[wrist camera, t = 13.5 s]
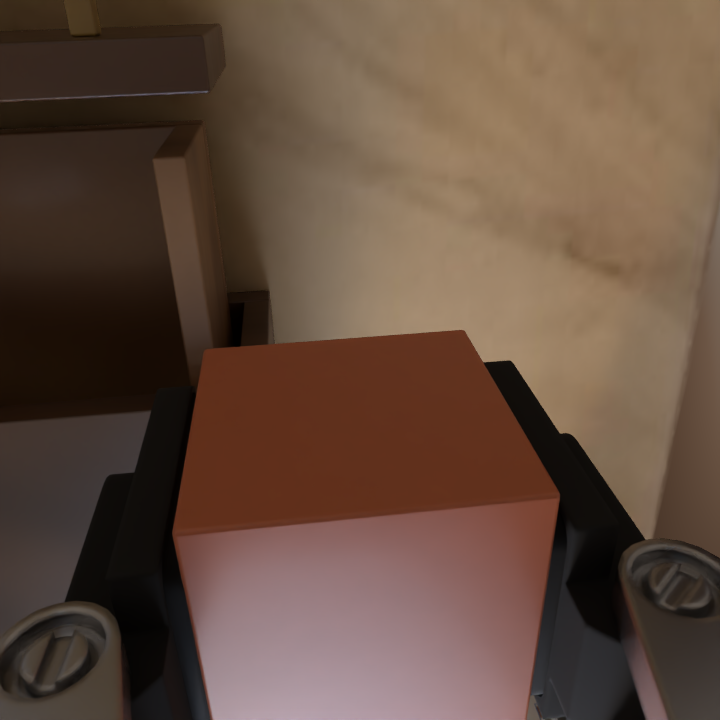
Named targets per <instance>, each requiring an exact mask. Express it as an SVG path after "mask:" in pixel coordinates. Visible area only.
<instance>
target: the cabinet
mask: <svg viewBox="0 0 720 720" xmlns="http://www.w3.org/2000/svg"><path fill="white" fill-rule="evenodd" d="M227 295H228V303H229V310H230V318H231V326H232V333H233V341H234V347H241V346H255V345H268V344H275V340H274V330H273V320H272V310H271V300H270V292H269V291H268V290H267V291H253V292H238V293H227ZM196 393H197V391H196ZM155 395H156V394H148V395H136V396H123V397H111V398H98V399H86V400H73V401H61V402H48V403H36V404H23V405H11V406H0V636H1V635H2V634H3V633H5V632H6V631H7V630H8V629H9V628H10V627H12V626H13V625H14V624H15V623H16V622H17V621H19V620H21V619H23V618H24V617H26V616H28V615H30V614H31V613H33V612H35V611H36V610H39V609H42V608H45V607H48V606H51V605H53V604H56V603H63V602H65V599H66V596H67V593H68V590H69V587H70V583H71V580H72V577H73V574H74V571H75V568H76V565H77V562H78V559H79V556H80V553H81V550H82V547H83V544H84V541H85V538H86V535H87V532H88V529H89V526H90V523H91V520H92V517H93V514H94V511H95V508H96V505H97V502H98V499H99V496H100V493H101V490H102V487H103V484H104V482H105V480H106V478H107V477H108V476H109V475H111V474H122V473H133V472H135V468H136V464H137V461H138V457H139V454H140V450H141V446H142V443H143V439H144V435H145V432H146V428H147V424H148V421H149V417H150V413H151V410H152V406H153V403H154V399H155Z"/></svg>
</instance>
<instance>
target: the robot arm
mask: <svg viewBox="0 0 720 720" xmlns="http://www.w3.org/2000/svg"><path fill="white" fill-rule="evenodd" d="M484 365H485V367H486V368H487V370H488V372H489V373H490V375H491V377H492V379H493V380H494V382H495V384H496V385H497V387H498V389H499V390H500V392H501V394H502V396H503V397H504V399H505V401H506V402H507V404H508V406H509V408H510V409H511V411H512V413H513V414H514V416H515V418H516V419H517V421H518V423H519V425H520V426H521V428H522V430H523V431H524V433H525V435H526V437H527V438H528V440H529V442H530V443H531V445H532V447H533V448H534V450H535V452H536V454H537V455H538V457H539V459H540V460H541V462H542V464H543V466H544V467H545V469H546V471H547V472H548V474H549V476H550V477H551V479H552V481H553V483H554V484H555V486H556V488H557V489H558V491H559V493H560V501H559V508H558V514H557V521H556V528H555V534H554V541H553V548H552V554H551V561H550V568H549V574H548V581H547V588H546V594H545V601H544V608H543V615H542V621H541V628H540V635H539V641H538V648H537V655H536V661H535V668H534V675H533V681H532V688H531V695H534V697H535V700H536V702H537V705H538V708H539V710H540V713H541V716H542V718H543V720H544V719H552V718H560V717H566V719H567V720H720V558H718V557H717V556H715V555H713V554H711V553H710V552H708V551H706V550H704V549H702V548H700V547H698V546H695V545H691V544H688V543H685V542H682V541H678V540H670V539H663V538H661V539H648V540H645V538H644V537H643V535H642V534H641V532H640V531H639V530H638V528H637V527H636V525H635V524H634V522H633V521H632V519H631V518H630V517H629V515H628V514H627V512H626V511H625V509H624V508H623V506H622V505H621V504H620V502H619V501H618V499H617V498H616V496H615V495H614V493H613V492H612V490H611V489H610V488H609V486H608V485H607V483H606V482H605V480H604V479H603V477H602V476H601V475H600V473H599V472H598V470H597V469H596V467H595V466H594V464H593V463H592V462H591V460H590V459H589V457H588V456H587V454H586V453H585V451H584V450H583V449H582V447H581V446H580V444H579V443H578V441H577V440H576V439H575V438H574V437H573V436H572V435H571V434H568V433H563V434H560V433H559V432H558V430H557V429H556V427H555V426H554V424H553V423H552V421H551V420H550V418H549V417H548V415H547V414H546V412H545V411H544V409H543V408H542V406H541V405H540V403H539V402H538V400H537V398H536V397H535V395H534V394H533V392H532V391H531V389H530V388H529V386H528V385H527V383H526V382H525V380H524V379H523V377H522V376H521V374H520V373H519V371H518V370H517V368H516V367H515V365H514V364H513V363H512V362H511V361H497V362H484ZM195 399H196V389H195V387H194V386H182V387H170V388H159V389H158V390H157V392H156V395H155V399H154V403H153V406H152V410H151V413H150V417H149V421H148V424H147V428H146V432H145V435H144V439H143V443H142V446H141V450H140V454H139V457H138V461H137V464H136V468H135V472H133V473H122V474H111V475H109V476H108V477H107V478H106V480H105V482H104V484H103V487H102V490H101V493H100V496H99V499H98V502H97V505H96V508H95V511H94V514H93V517H92V520H91V523H90V526H89V529H88V532H87V535H86V538H85V541H84V544H83V547H82V550H81V553H80V556H79V559H78V562H77V565H76V568H75V571H74V574H73V577H72V580H71V583H70V587H69V590H68V593H67V596H66V599H65V602H63V603H56V604H53V605H51V606H48V607H45V608H42V609H39V610H36V611H35V612H33V613H31V614H30V615H28V616H26V617H24V618H23V619H21V620H19V621H17V622H16V623H15V624H14V625H13V626H12V627H10V628H9V629H8V630H7V631H6V632H5V633H3V634H2V635H1V636H0V720H211V719H210V714H209V709H208V704H207V699H206V694H205V690H204V685H203V680H202V675H201V670H200V665H199V660H198V655H197V650H196V645H195V640H194V635H193V630H192V625H191V621H190V616H189V611H188V606H187V601H186V596H185V591H184V587H183V583H182V579H181V575H180V570H179V565H178V560H177V555H176V550H175V545H174V540H173V535H172V531H173V526H174V520H175V514H176V508H177V503H178V497H179V491H180V485H181V480H182V474H183V468H184V462H185V457H186V451H187V445H188V439H189V434H190V428H191V422H192V416H193V411H194V405H195ZM531 695H530V696H531Z"/></svg>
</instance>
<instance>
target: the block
mask: <svg viewBox="0 0 720 720" xmlns="http://www.w3.org/2000/svg"><path fill="white" fill-rule="evenodd" d="M559 501H560V493H559V491H558V489H557V488H556V486H555V484H554V483H553V481H552V479H551V477H550V476H549V474H548V472H547V471H546V469H545V467H544V466H543V464H542V462H541V460H540V459H539V457H538V455H537V454H536V452H535V450H534V448H533V447H532V445H531V443H530V442H529V440H528V438H527V437H526V435H525V433H524V431H523V430H522V428H521V426H520V425H519V423H518V421H517V419H516V418H515V416H514V414H513V413H512V411H511V409H510V408H509V406H508V404H507V402H506V401H505V399H504V397H503V396H502V394H501V392H500V390H499V389H498V387H497V385H496V384H495V382H494V380H493V379H492V377H491V375H490V373H489V372H488V370H487V368H486V367H485V365H484V363H483V361H482V360H481V358H480V356H479V355H478V353H477V351H476V350H475V348H474V346H473V344H472V343H471V341H470V339H469V338H468V336H467V334H466V332H465V331H463V330H455V331H442V332H429V333H415V334H402V335H389V336H375V337H362V338H348V339H335V340H322V341H308V342H295V343H282V344H268V345H255V346H241V347H228V348H215V349H206V350H204V353H203V359H202V365H201V370H200V376H199V382H198V388H197V393H196V399H195V405H194V411H193V416H192V422H191V428H190V434H189V439H188V445H187V451H186V457H185V462H184V468H183V474H182V480H181V485H180V491H179V497H178V503H177V508H176V514H175V520H174V526H173V531H172V535H173V540H174V545H175V550H176V555H177V560H178V565H179V570H180V575H181V579H182V583H183V587H184V591H185V596H186V601H187V606H188V611H189V616H190V621H191V625H192V630H193V635H194V640H195V645H196V650H197V655H198V660H199V665H200V670H201V675H202V680H203V685H204V690H205V694H206V699H207V704H208V709H209V714H210V719H211V720H527V715H528V708H529V702H530V695H531V688H532V681H533V675H534V668H535V661H536V655H537V648H538V641H539V635H540V628H541V621H542V615H543V608H544V601H545V594H546V588H547V581H548V574H549V568H550V561H551V554H552V548H553V541H554V534H555V528H556V521H557V514H558V508H559Z"/></svg>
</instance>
